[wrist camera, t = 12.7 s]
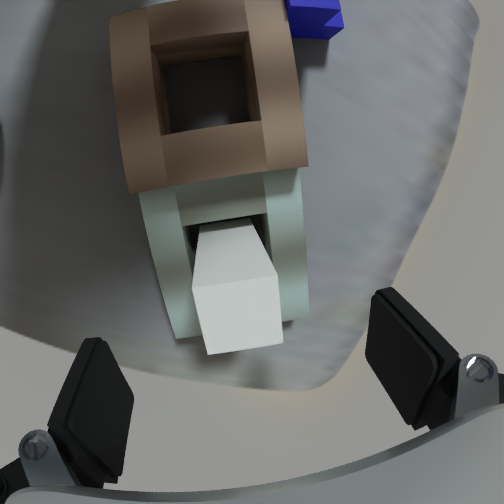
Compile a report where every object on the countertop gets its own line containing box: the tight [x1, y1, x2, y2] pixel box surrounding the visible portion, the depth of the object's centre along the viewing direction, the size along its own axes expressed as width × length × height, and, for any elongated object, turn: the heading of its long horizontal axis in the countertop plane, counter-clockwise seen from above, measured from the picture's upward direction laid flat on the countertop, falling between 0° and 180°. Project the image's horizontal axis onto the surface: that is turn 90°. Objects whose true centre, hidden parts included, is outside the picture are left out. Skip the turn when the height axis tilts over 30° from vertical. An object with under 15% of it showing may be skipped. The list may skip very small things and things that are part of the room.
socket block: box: [109, 0, 309, 339], centre depth 18 cm, size 22×10×5 cm, turn 7°
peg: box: [192, 218, 283, 355], centre depth 18 cm, size 4×4×10 cm
